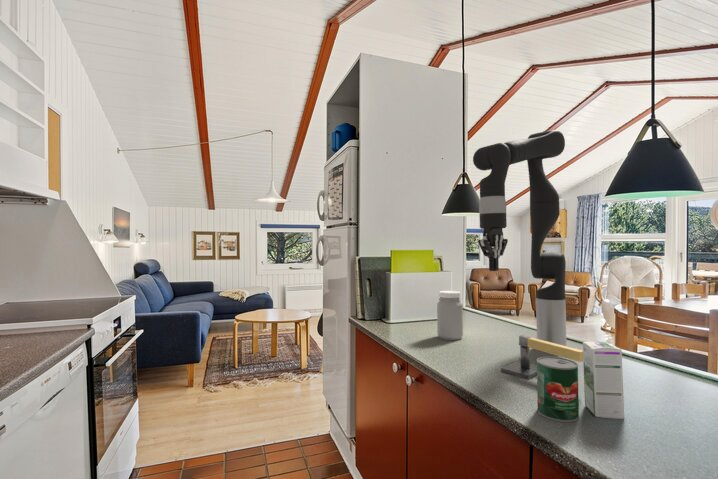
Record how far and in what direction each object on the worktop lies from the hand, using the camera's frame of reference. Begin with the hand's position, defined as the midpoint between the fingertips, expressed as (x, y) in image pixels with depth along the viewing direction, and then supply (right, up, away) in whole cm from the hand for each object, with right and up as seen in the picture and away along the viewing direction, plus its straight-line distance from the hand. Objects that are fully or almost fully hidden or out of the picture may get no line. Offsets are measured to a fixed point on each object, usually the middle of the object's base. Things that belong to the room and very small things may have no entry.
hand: (493, 270), depth 110 cm
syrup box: (+13, -28, -30) cm, 43 cm away
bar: (+11, -21, -10) cm, 26 cm away
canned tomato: (+3, -28, -31) cm, 42 cm away
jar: (-4, -30, +36) cm, 46 cm away
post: (+8, -28, -3) cm, 30 cm away
